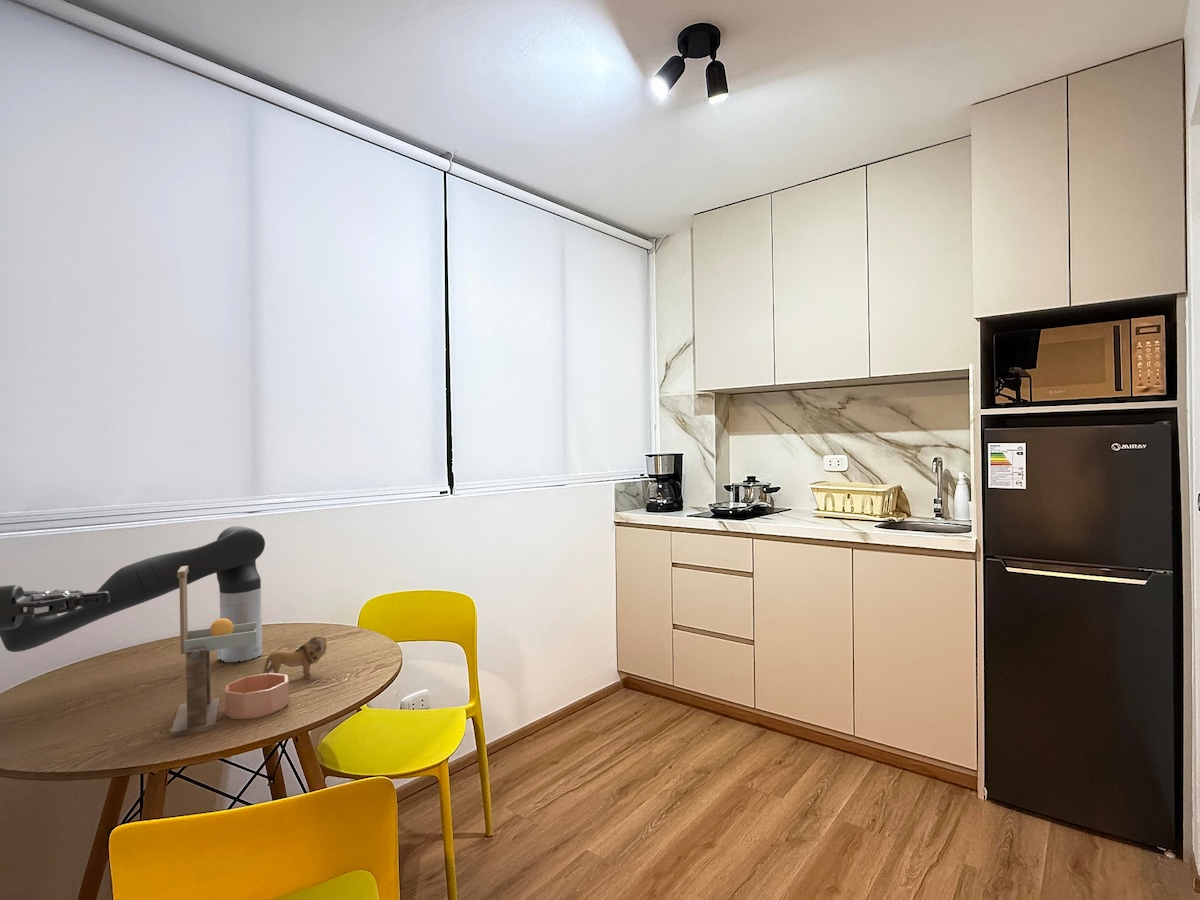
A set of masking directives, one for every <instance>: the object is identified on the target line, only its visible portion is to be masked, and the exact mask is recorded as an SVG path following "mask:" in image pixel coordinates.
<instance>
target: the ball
mask: <svg viewBox="0 0 1200 900" xmlns="http://www.w3.org/2000/svg"><path fill="white" fill-rule="evenodd" d="M209 628H210V633H211V635H212V636H213V637H214V636H222V635H229V634H231V633H232V631H233V623H232V622H231V621H230V620H229V619H226V618H221V619H220V618H218V619H216V620H214V621H213V622H212V624H211V625H210V627H209Z"/></svg>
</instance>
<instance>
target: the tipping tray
mask: <svg viewBox="0 0 1200 900" xmlns="http://www.w3.org/2000/svg"><path fill="white" fill-rule="evenodd" d="M187 573H188V566H181V567H180V569H179V570H178V572H177V578H179V588H178V589H179V625H180V626H179V628H180V629H179V630H180V631H179V632H180V633H179V634H180V635H179V636H180V640H179V641H180V655H186V651H187V649H194V648H201V647H206V651H210V652H211V651H217V650H218V649H225V648H232V647H239V646H246V645H253V644H256V622H254V623H246V624H238V625H233V631H232V633H231V634H229V635H222V636H214V637H213V636H212V635H211V633H210V627H209V628H199V629H193V630H192V629H191V630H188V629H189V628H188V626H189V625H188V623H189V622H188V620H189V619H188V585H187Z"/></svg>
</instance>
